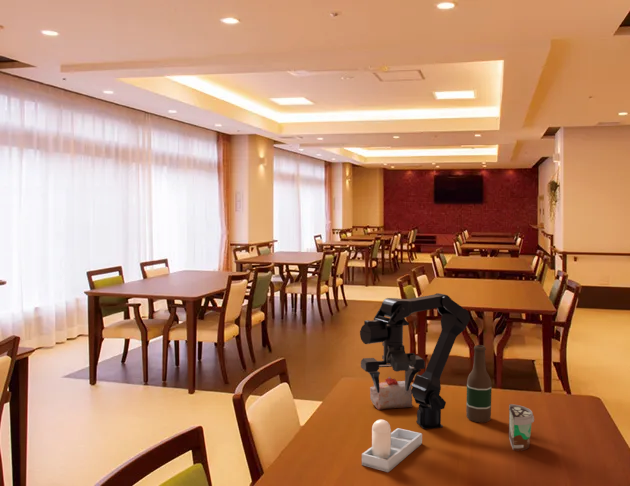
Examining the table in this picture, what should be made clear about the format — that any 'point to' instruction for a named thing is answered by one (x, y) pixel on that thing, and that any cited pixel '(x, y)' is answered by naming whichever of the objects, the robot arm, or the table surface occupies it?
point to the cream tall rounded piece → (381, 439)
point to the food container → (520, 426)
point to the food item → (391, 395)
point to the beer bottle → (479, 389)
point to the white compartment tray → (394, 450)
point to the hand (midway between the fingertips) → (392, 391)
